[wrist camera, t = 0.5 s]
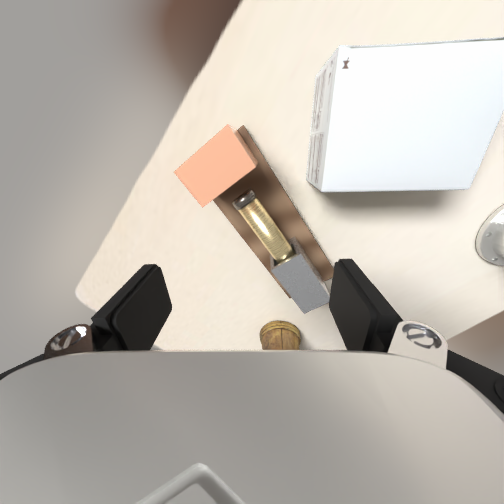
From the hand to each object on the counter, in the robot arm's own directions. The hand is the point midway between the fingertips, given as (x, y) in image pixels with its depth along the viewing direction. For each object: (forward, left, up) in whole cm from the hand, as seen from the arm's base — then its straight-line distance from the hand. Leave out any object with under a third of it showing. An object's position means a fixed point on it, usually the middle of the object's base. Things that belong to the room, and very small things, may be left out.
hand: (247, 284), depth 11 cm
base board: (-6, +1, -25) cm, 26 cm away
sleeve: (-14, +1, -23) cm, 27 cm away
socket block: (+6, +1, -23) cm, 24 cm away
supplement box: (-2, -18, -25) cm, 31 cm away
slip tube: (-8, +1, -21) cm, 23 cm away
